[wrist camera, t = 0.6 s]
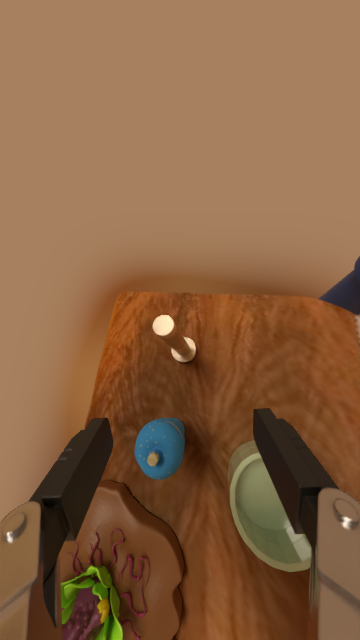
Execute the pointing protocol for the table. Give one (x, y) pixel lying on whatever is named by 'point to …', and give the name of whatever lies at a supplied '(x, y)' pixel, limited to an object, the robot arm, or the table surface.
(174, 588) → the plant
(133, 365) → the table surface
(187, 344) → the stick
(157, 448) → the ornament
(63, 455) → the robot arm
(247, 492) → the bowl
